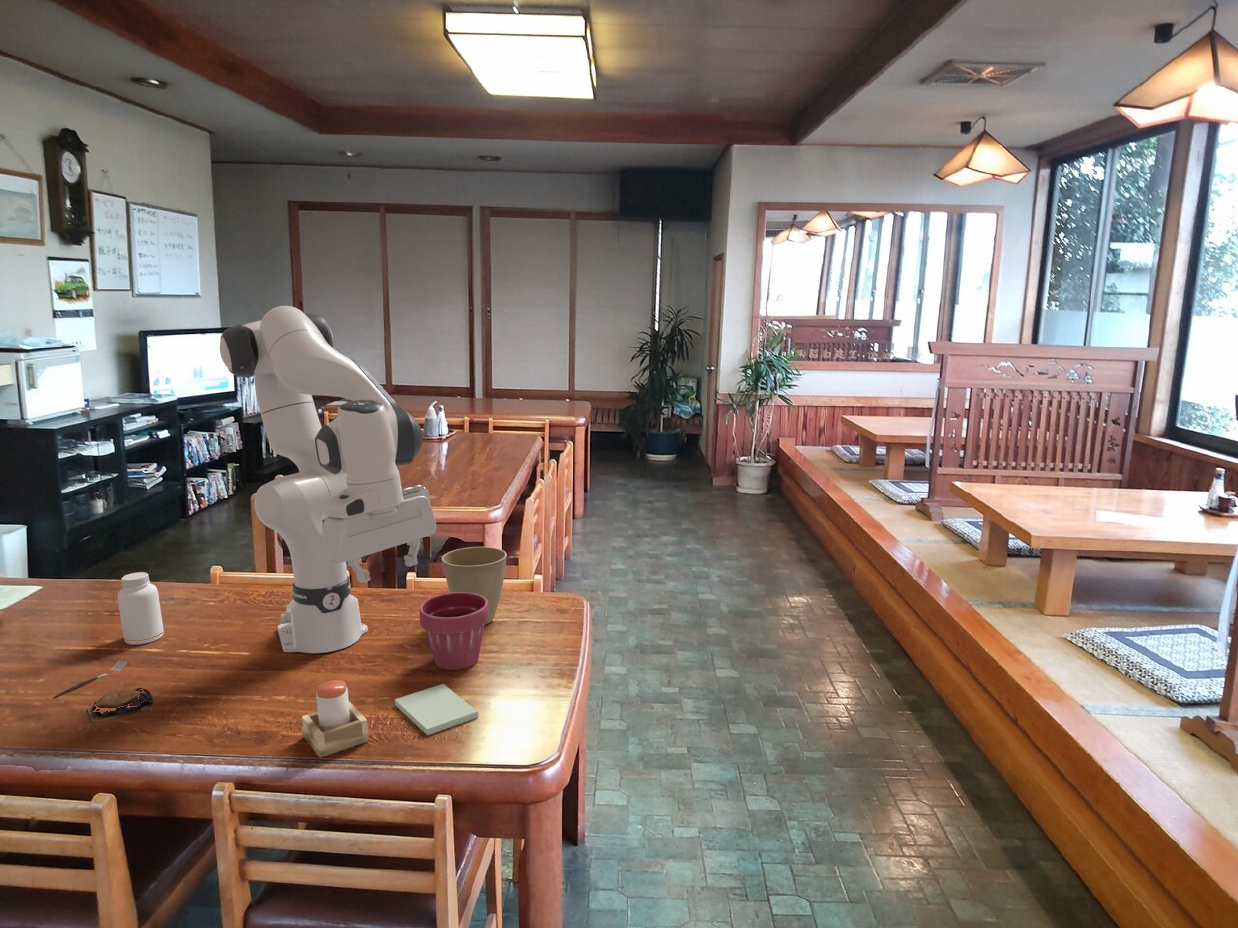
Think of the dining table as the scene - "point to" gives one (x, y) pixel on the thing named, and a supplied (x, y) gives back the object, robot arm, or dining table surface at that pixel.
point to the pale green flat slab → (436, 709)
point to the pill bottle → (139, 609)
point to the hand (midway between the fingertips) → (388, 573)
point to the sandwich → (120, 703)
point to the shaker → (332, 704)
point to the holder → (335, 733)
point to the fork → (92, 679)
